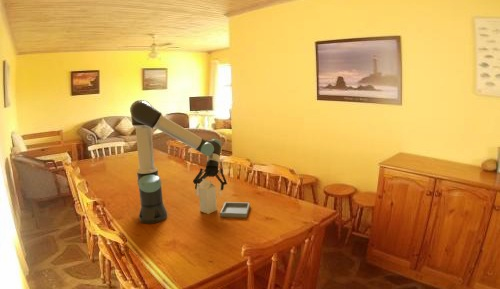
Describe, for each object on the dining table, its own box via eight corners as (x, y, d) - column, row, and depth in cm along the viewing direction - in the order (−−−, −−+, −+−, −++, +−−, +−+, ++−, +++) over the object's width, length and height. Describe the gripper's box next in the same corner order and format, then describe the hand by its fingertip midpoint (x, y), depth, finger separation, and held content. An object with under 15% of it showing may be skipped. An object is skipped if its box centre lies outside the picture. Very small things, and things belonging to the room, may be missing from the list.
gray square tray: (220, 217, 169) (219, 212, 168) (225, 205, 183) (225, 201, 183) (246, 217, 167) (246, 213, 166) (249, 206, 181) (249, 202, 181)
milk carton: (208, 207, 182) (206, 177, 178) (217, 210, 177) (215, 179, 173) (199, 211, 176) (197, 180, 172) (208, 214, 172) (206, 183, 168)
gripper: (233, 165, 187) (230, 197, 176) (194, 165, 190) (189, 196, 179) (232, 159, 181) (228, 192, 169) (191, 159, 183) (185, 191, 172)
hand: (208, 194), depth 174 cm, fingers open, 13 cm apart
